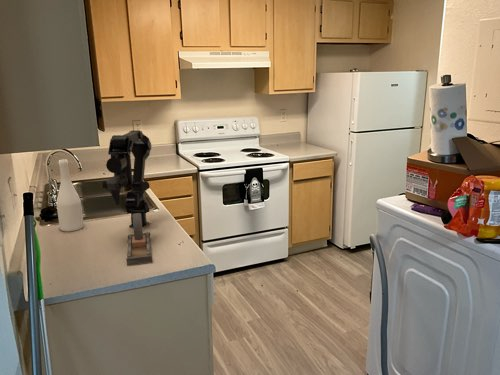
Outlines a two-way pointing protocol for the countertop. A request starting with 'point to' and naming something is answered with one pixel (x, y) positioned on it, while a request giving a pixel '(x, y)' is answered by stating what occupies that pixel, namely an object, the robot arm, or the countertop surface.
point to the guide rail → (139, 251)
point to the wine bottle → (68, 202)
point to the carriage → (138, 231)
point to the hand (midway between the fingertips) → (127, 205)
